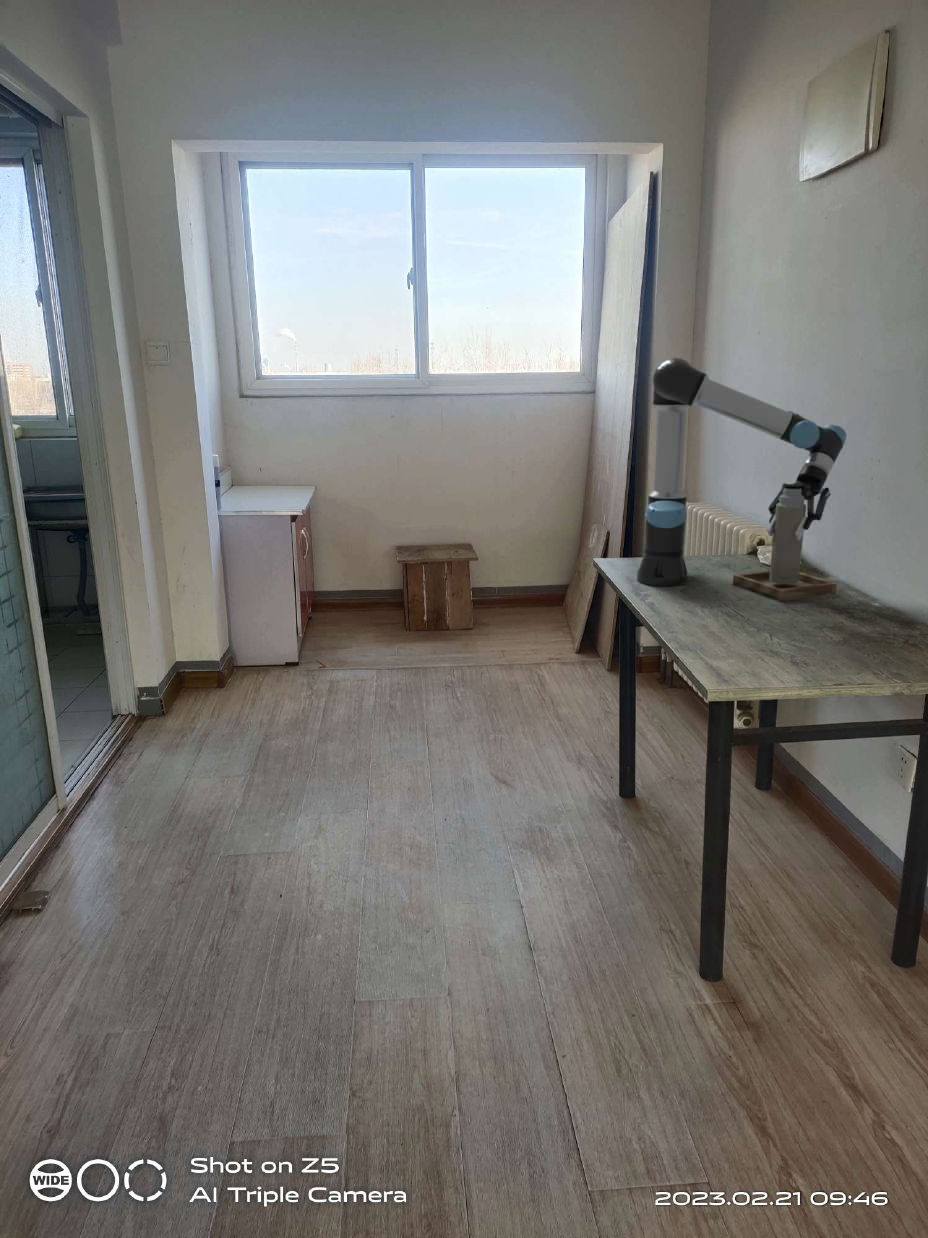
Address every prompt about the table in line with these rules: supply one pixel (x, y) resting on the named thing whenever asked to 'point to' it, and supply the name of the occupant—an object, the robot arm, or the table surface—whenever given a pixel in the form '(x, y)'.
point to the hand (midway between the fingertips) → (783, 535)
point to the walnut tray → (784, 586)
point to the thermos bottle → (787, 536)
